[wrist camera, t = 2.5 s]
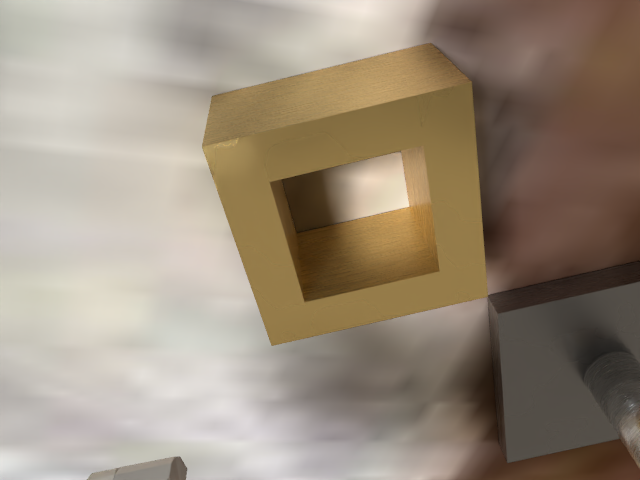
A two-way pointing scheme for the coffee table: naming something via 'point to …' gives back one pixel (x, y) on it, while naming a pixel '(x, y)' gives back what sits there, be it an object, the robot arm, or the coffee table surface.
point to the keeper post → (568, 363)
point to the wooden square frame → (361, 234)
